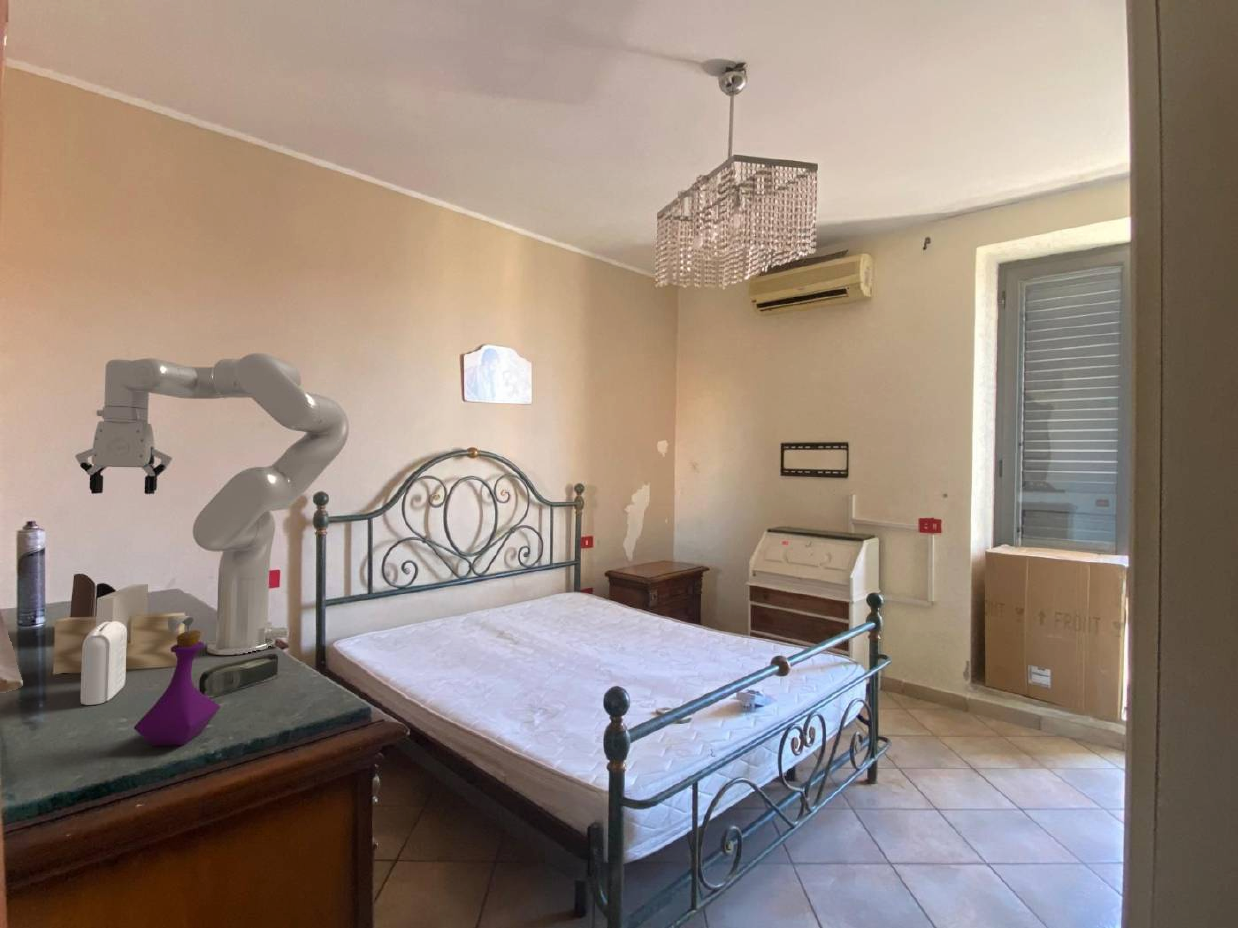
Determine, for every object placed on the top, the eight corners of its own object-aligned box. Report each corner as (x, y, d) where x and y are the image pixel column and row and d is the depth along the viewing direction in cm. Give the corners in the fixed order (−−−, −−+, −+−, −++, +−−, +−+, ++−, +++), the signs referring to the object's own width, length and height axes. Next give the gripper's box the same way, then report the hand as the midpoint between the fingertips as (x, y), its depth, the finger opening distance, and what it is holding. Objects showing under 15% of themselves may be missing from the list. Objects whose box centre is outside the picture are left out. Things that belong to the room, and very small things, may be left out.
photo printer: (98, 687, 106) (100, 617, 106) (128, 683, 107) (130, 615, 108) (75, 707, 96) (78, 631, 97) (109, 704, 98) (112, 629, 98)
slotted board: (183, 662, 120) (184, 612, 120) (178, 666, 117) (179, 615, 117) (61, 670, 114) (63, 617, 114) (53, 674, 111) (55, 621, 112)
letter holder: (88, 644, 131) (90, 580, 131) (68, 628, 143) (70, 570, 143) (144, 635, 139) (146, 575, 139) (121, 621, 151) (123, 565, 151)
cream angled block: (110, 679, 109) (113, 597, 110) (94, 680, 109) (97, 598, 109) (145, 656, 123) (147, 584, 123) (131, 657, 122) (133, 584, 122)
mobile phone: (271, 650, 114) (188, 671, 100) (282, 652, 113) (200, 674, 99) (270, 676, 114) (187, 701, 100) (280, 679, 112) (198, 704, 99)
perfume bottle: (168, 728, 89) (172, 608, 90) (220, 727, 90) (224, 608, 90) (131, 751, 82) (136, 621, 82) (188, 750, 83) (193, 621, 83)
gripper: (68, 412, 125) (65, 493, 125) (165, 417, 130) (162, 494, 130) (88, 416, 132) (85, 492, 132) (179, 419, 137) (176, 493, 137)
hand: (123, 493), depth 131 cm, fingers open, 9 cm apart
